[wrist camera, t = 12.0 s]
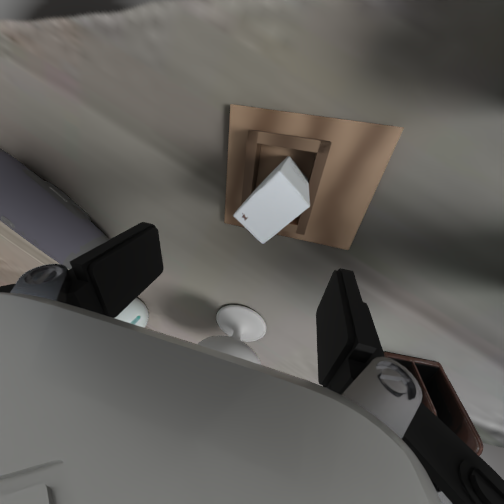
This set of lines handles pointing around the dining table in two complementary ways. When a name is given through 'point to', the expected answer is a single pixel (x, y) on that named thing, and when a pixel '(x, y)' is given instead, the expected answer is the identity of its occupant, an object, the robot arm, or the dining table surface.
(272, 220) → the skincare box
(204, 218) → the dining table surface
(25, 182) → the bluetooth speaker
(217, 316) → the chalice
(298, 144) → the box stand
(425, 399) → the letter holder
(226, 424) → the robot arm
